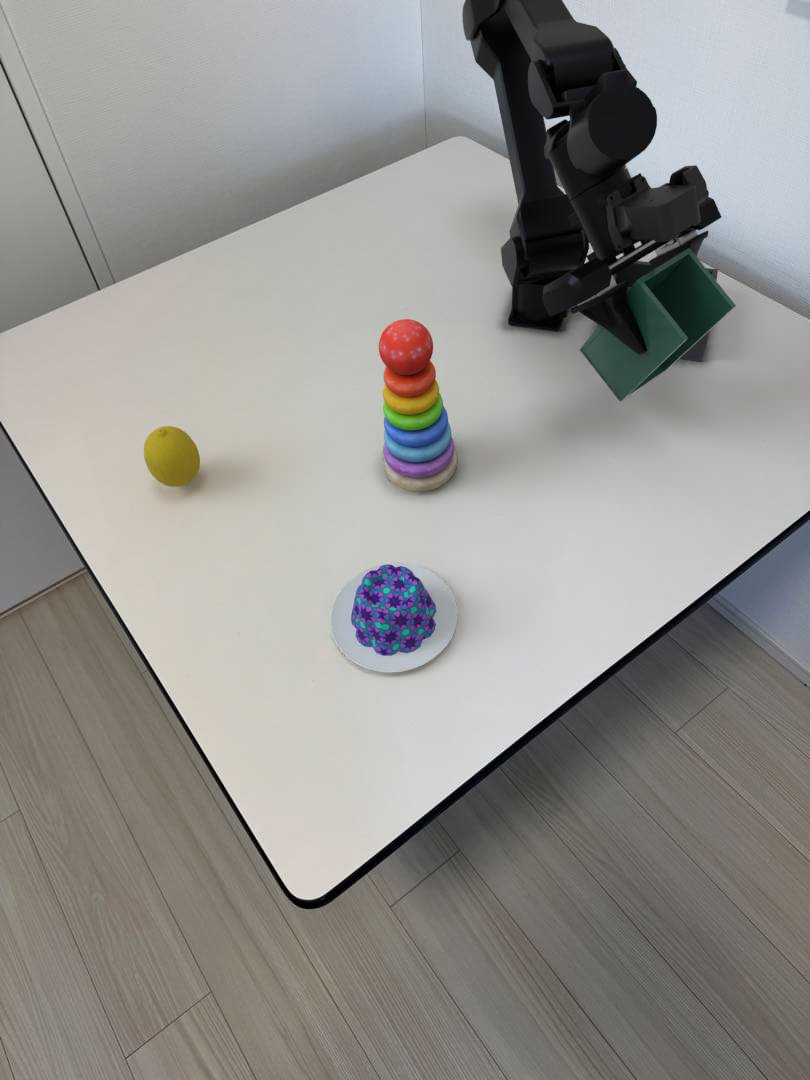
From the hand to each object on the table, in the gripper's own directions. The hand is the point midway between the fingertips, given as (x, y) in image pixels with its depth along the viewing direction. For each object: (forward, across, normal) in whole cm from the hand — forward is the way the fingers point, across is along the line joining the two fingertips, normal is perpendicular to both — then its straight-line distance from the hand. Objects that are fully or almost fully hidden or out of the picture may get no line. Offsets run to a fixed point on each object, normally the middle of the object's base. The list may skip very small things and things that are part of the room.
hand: (669, 336), depth 79 cm
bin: (+1, +14, +17) cm, 22 cm away
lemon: (-11, -43, +29) cm, 53 cm away
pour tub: (+1, 0, +8) cm, 8 cm away
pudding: (+10, -36, +8) cm, 38 cm away
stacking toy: (0, -22, +18) cm, 28 cm away
